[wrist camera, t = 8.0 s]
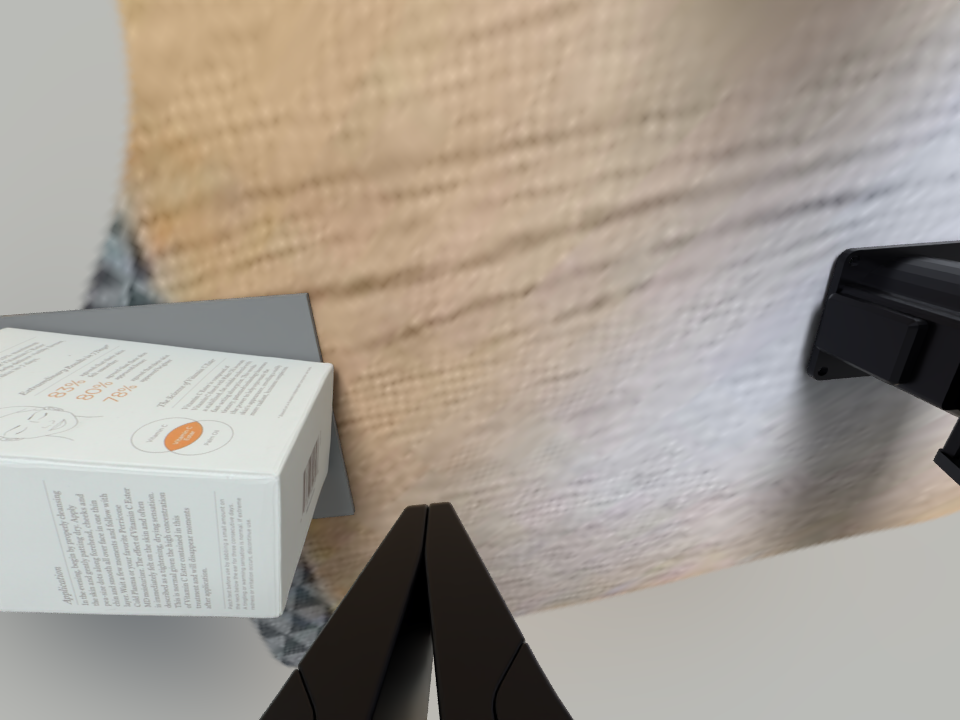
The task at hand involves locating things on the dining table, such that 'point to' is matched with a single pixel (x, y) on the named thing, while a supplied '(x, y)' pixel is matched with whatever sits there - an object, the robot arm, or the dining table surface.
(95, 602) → the small box
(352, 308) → the dining table surface
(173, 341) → the mat
